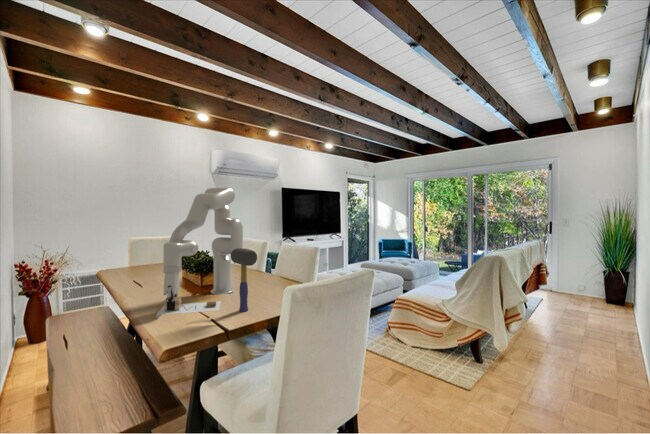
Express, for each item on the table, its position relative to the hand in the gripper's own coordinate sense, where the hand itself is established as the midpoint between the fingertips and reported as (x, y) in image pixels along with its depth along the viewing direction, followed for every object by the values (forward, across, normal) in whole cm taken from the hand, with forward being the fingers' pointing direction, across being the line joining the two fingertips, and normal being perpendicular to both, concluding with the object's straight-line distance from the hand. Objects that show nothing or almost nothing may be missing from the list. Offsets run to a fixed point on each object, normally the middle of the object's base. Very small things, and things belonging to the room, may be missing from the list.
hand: (172, 307), depth 139 cm
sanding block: (+1, 0, 0) cm, 1 cm away
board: (+2, 0, +8) cm, 8 cm away
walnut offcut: (+1, 0, +17) cm, 17 cm away
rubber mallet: (+2, +9, +32) cm, 33 cm away
